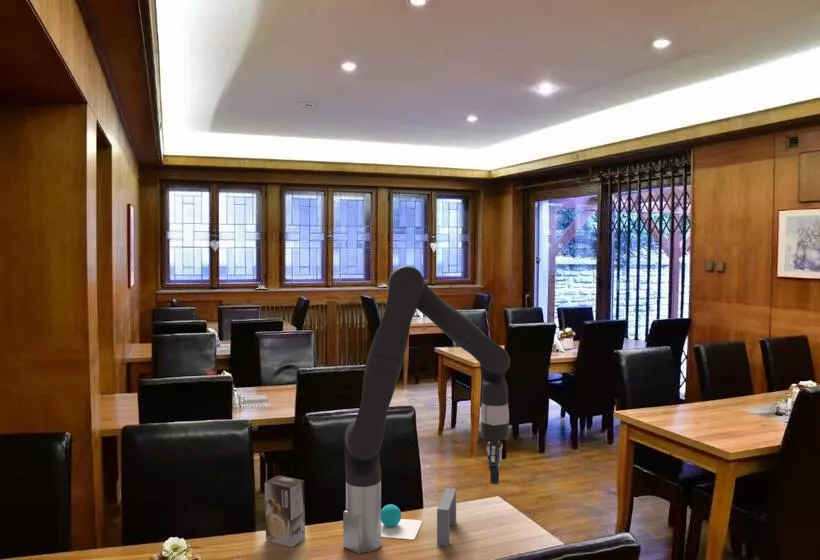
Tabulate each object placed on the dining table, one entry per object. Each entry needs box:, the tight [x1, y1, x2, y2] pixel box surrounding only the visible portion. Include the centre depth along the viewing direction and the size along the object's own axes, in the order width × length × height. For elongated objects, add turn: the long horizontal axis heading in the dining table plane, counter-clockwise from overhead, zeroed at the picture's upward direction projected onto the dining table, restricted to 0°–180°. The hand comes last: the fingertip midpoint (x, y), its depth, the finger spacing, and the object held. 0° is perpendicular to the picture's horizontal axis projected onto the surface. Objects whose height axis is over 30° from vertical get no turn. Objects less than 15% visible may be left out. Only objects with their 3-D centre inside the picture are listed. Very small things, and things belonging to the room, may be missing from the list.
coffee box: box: [264, 475, 306, 548], centre depth 167 cm, size 9×6×16 cm
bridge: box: [436, 487, 457, 547], centre depth 171 cm, size 3×15×10 cm, turn 168°
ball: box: [381, 503, 402, 527], centre depth 176 cm, size 6×6×6 cm
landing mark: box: [381, 518, 423, 541], centre depth 174 cm, size 12×12×1 cm
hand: (494, 483), depth 168 cm, fingers closed
